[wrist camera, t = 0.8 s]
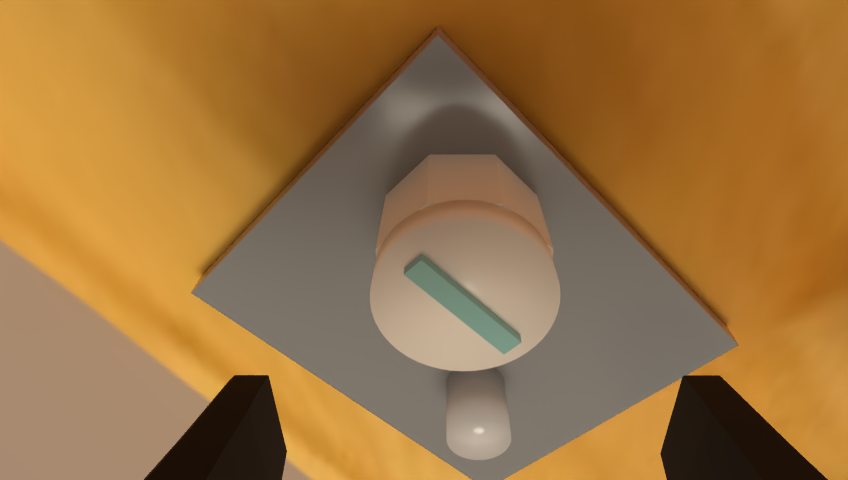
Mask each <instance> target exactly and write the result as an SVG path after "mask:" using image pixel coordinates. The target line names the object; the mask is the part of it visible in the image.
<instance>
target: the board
mask: <svg viewBox="0 0 848 480" xmlns="http://www.w3.org/2000/svg"><path fill="white" fill-rule="evenodd" d="M430 154H495V155H496V156H497V157H498V158H499V159H500V160H501V161H502V162H503V163H504V164H505V165H506V166H507V167H508V168H509V169H511V170H512V171H513V172H514V173H515V174H516V175H517V176H518V177H519V178H520V179H521V180H522V181H523V182H524V183H525V184H526V185H527V186H528V187H529V188H530V189H531V190H532V191H533V192H534V193H535V194H536V195H537V196H538V199H539V203H540V206H541V209H542V213H543V216H544V220H545V223H546V226H547V230H548V233H549V236H550V240H551V243H552V246H553V258H552V259H553V262H554V266H555V269H556V273H557V276H558V280H559V283H560V293H561V295H560V305H559V310H558V314H557V316H556V319H555V321H554V323H553V325H552V327H551V328H550V330H549V332H548V333H547V334H546V335H545V337H544V338H543V339H542V340H541V341H540V342H539V343H538V344H537V345H536V346H535V347H534V348H532V349H531V350H530V351H528V352H527V353H526V354H524V355H522V356H521V357H519V358H517V359H515V360H513V361H511V362H508V363H506V364H503V365H500V366H497V367H493V368H489V369H485V370H477V371H450V370H444V369H438V368H434V367H431V366H427V365H425V364H422V363H419V362H417V361H415V360H413V359H411V358H409V357H407V356H406V355H404V354H403V353H401V352H400V351H398V350H397V349H396V348H395V347H394V346H392V345H391V344H390V343H389V341H388V340H387V339H386V338H385V337H384V336H383V334H382V333H381V331H380V330H379V328H378V326H377V324H376V322H375V321H374V318H373V314H372V311H371V306H370V288H371V282H372V277H373V271H374V266H375V260H376V244H377V239H378V234H379V228H380V223H381V218H382V212H383V207H384V202H385V196H386V195H387V194H388V193H389V192H390V191H391V190H392V189H393V188H394V187H395V186H396V185H397V184H398V183H399V182H401V181H402V180H403V179H404V178H405V177H406V176H407V175H408V174H409V173H410V172H411V171H412V170H413V169H414V168H416V167H417V166H418V165H419V164H420V163H421V162H422V161H423V160H424V159H425V158H426V157H427V156H428V155H430ZM191 293H192V294H194V295H195V296H197V297H198V298H200V299H201V300H203V301H204V302H206V303H207V304H209V305H210V306H212V307H213V308H215V309H216V310H218V311H219V312H221V313H222V314H224V315H225V316H227V317H228V318H230V319H231V320H233V321H234V322H236V323H237V324H239V325H240V326H242V327H243V328H245V329H246V330H248V331H249V332H251V333H252V334H254V335H255V336H257V337H258V338H260V339H261V340H263V341H264V342H266V343H267V344H269V345H270V346H272V347H273V348H275V349H276V350H278V351H279V352H281V353H282V354H284V355H285V356H287V357H289V358H290V359H292V360H293V361H295V362H296V363H298V364H299V365H301V366H302V367H304V368H305V369H307V370H308V371H310V372H311V373H313V374H314V375H316V376H317V377H319V378H320V379H322V380H323V381H325V382H326V383H328V384H329V385H331V386H332V387H334V388H335V389H337V390H338V391H340V392H341V393H343V394H344V395H346V396H347V397H349V398H350V399H352V400H353V401H355V402H356V403H358V404H359V405H361V406H362V407H364V408H365V409H367V410H368V411H370V412H371V413H373V414H374V415H376V416H377V417H379V418H380V419H382V420H383V421H385V422H386V423H388V424H389V425H391V426H392V427H394V428H395V429H397V430H398V431H400V432H401V433H403V434H404V435H406V436H407V437H409V438H410V439H412V440H413V441H415V442H416V443H418V444H419V445H421V446H422V447H424V448H425V449H427V450H428V451H430V452H431V453H433V454H435V455H436V456H438V457H439V458H441V459H442V460H444V461H445V462H447V463H448V464H450V465H451V466H453V467H454V468H456V469H457V470H459V471H460V472H462V473H463V474H465V475H466V476H468V477H469V478H471V479H472V480H503V479H505V478H507V477H509V476H510V475H512V474H514V473H516V472H517V471H519V470H521V469H523V468H525V467H526V466H528V465H530V464H532V463H533V462H535V461H537V460H539V459H540V458H542V457H544V456H546V455H547V454H549V453H551V452H553V451H554V450H556V449H558V448H560V447H561V446H563V445H565V444H567V443H568V442H570V441H572V440H574V439H575V438H577V437H579V436H581V435H582V434H584V433H586V432H588V431H589V430H591V429H593V428H595V427H596V426H598V425H600V424H602V423H603V422H605V421H607V420H609V419H610V418H612V417H614V416H616V415H617V414H619V413H621V412H623V411H624V410H626V409H628V408H630V407H631V406H633V405H635V404H637V403H638V402H640V401H642V400H644V399H645V398H647V397H649V396H651V395H652V394H654V393H656V392H658V391H659V390H661V389H663V388H665V387H666V386H668V385H670V384H672V383H673V382H675V381H677V380H679V379H680V378H682V377H683V376H686V375H687V374H689V373H691V372H693V371H694V370H696V369H698V368H700V367H701V366H703V365H705V364H707V363H708V362H710V361H712V360H714V359H715V358H717V357H719V356H721V355H722V354H724V353H726V352H728V351H729V350H731V349H733V348H735V347H736V346H738V343H737V342H736V340H735V338H734V337H733V335H732V334H731V332H730V331H729V329H728V328H727V326H726V325H725V324H724V323H723V322H722V321H721V320H720V319H719V318H718V317H717V316H716V315H715V314H714V313H713V312H712V311H711V310H710V308H709V307H708V306H707V305H706V304H705V303H704V302H703V301H702V300H701V299H700V298H699V297H698V296H697V295H696V294H695V293H694V292H693V291H692V290H691V289H690V288H689V287H688V286H687V285H686V284H685V282H684V281H683V280H682V279H681V278H680V277H679V276H678V275H677V274H676V273H675V272H674V271H673V270H672V269H671V268H670V267H669V266H668V265H667V264H666V263H665V262H664V261H663V260H662V259H661V258H660V257H659V255H658V254H657V253H656V252H655V251H654V250H653V249H652V248H651V247H650V246H649V245H648V244H647V243H646V242H645V241H644V240H643V239H642V238H641V237H640V236H639V235H638V234H637V233H636V232H635V231H634V230H633V228H632V227H631V226H630V225H629V224H628V223H627V222H626V221H625V220H624V219H623V218H622V217H621V216H620V215H619V214H618V213H617V212H616V211H615V210H614V209H613V208H612V207H611V206H610V205H609V204H608V202H607V201H606V200H605V199H604V198H603V197H602V196H601V195H600V194H599V193H598V192H597V191H596V190H595V189H594V188H593V187H592V186H591V185H590V184H589V183H588V182H587V181H586V180H585V179H584V178H583V177H582V175H581V174H580V173H579V172H578V171H577V170H576V169H575V168H574V167H573V166H572V165H571V164H570V163H569V162H568V161H567V160H566V159H565V158H564V157H563V156H562V155H561V154H560V153H559V152H558V151H557V149H556V148H555V147H554V146H553V145H552V144H551V143H550V142H549V141H548V140H547V139H546V138H545V137H544V136H543V135H542V134H541V133H540V132H539V131H538V130H537V129H536V128H535V127H534V126H533V125H532V124H531V122H530V121H529V120H528V119H527V118H526V117H525V116H524V115H523V114H522V113H521V112H520V111H519V110H518V109H517V108H516V107H515V106H514V105H513V104H512V103H511V102H510V101H509V100H508V99H507V98H506V97H505V95H504V94H503V93H502V92H501V91H500V90H499V89H498V88H497V87H496V86H495V85H494V84H493V83H492V82H491V81H490V80H489V79H488V78H487V77H486V76H485V75H484V74H483V73H482V72H481V71H480V69H479V68H478V67H477V66H476V65H475V64H474V63H473V62H472V61H471V60H470V59H469V58H468V57H467V56H466V55H465V54H464V53H463V52H462V51H461V50H460V49H459V48H458V47H457V46H456V45H455V44H454V42H453V41H452V40H451V39H450V38H449V37H448V36H447V35H446V34H445V33H444V32H443V31H442V30H441V29H440V28H439V27H437V28H436V30H435V31H434V32H433V33H432V34H431V35H430V36H429V37H428V38H427V39H426V40H425V41H424V42H423V43H422V44H421V45H420V46H419V47H418V48H417V50H416V51H415V52H414V53H413V54H412V55H411V56H410V57H409V58H408V59H407V60H406V61H405V62H404V63H403V64H402V65H401V66H400V67H399V68H398V70H397V71H396V72H395V73H394V74H393V75H392V76H391V77H390V78H389V79H388V80H387V81H386V82H385V83H384V84H383V85H382V86H381V87H380V89H379V90H378V91H377V92H376V93H375V94H374V95H373V96H372V97H371V98H370V99H369V100H368V101H367V102H366V103H365V104H364V105H363V106H362V107H361V109H360V110H359V111H358V112H357V113H356V114H355V115H354V116H353V117H352V118H351V119H350V120H349V121H348V122H347V123H346V124H345V125H344V126H343V127H342V129H341V130H340V131H339V132H338V133H337V134H336V135H335V136H334V137H333V138H332V139H331V140H330V141H329V142H328V143H327V144H326V145H325V146H324V147H323V149H322V150H321V151H320V152H319V153H318V154H317V155H316V156H315V157H314V158H313V159H312V160H311V161H310V162H309V163H308V164H307V165H306V166H305V168H304V169H303V170H302V171H301V172H300V173H299V174H298V175H297V176H296V177H295V178H294V179H293V180H292V181H291V182H290V183H289V184H288V185H287V186H286V188H285V189H284V190H283V191H282V192H281V193H280V194H279V195H278V196H277V197H276V198H275V199H274V200H273V201H272V202H271V203H270V204H269V205H268V206H267V208H266V209H265V210H264V211H263V212H262V213H261V214H260V215H259V216H258V217H257V218H256V219H255V220H254V221H253V222H252V223H251V224H250V225H249V226H248V228H247V229H246V230H245V231H244V232H243V233H242V234H241V235H240V236H239V237H238V238H237V239H236V240H235V241H234V242H233V243H232V244H231V245H230V247H229V248H228V249H227V250H226V251H225V252H224V253H223V254H222V255H221V256H220V257H219V258H218V259H217V260H216V261H215V262H214V263H213V264H212V265H211V267H210V268H209V269H208V270H207V271H206V272H205V273H204V274H203V275H202V276H201V278H200V279H199V281H198V283H197V284H196V286H195V287H194V289H193V291H192V292H191Z"/></svg>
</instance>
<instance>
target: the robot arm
mask: <svg viewBox="0 0 848 480" xmlns="http://www.w3.org/2000/svg"><path fill="white" fill-rule="evenodd" d="M286 453H287V450H286V446H285V442H284V438H283V434H282V429H281V425H280V421H279V417H278V413H277V409H276V405H275V401H274V396H273V392H272V388H271V384H270V380H269V376H268V375H235V376H234V377H232V378H231V379H230V380H229V381H228V383H227V384H226V385H225V386H224V387H223V389H222V390H221V391H220V392H219V393H218V395H217V396H216V397H215V398H214V399H213V400H212V402H211V403H210V404H209V406H207V408H206V409H205V410H204V411H203V412H202V414H201V415H200V416H199V417H198V418H197V420H196V421H195V422H194V423H193V424H192V425H191V427H190V428H189V429H188V430H187V431H186V432H185V434H184V435H183V436H182V437H181V438H180V439H179V441H178V442H177V443H176V444H175V445H174V446H173V447H172V449H171V450H170V451H169V452H168V453H167V454H166V455H165V456H164V457H163V459H162V460H161V461H160V462H159V463H158V464H157V465H156V467H155V468H154V469H153V470H152V471H151V472H150V473H149V474H148V475H147V477H146V478H145V479H144V480H282V475H283V470H284V464H285V459H286ZM661 458H662V462H663V466H664V470H665V474H666V478H667V480H828V479H827V478H825V477H824V476H823V475H822V474H821V473H820V472H819V471H818V470H817V469H816V468H815V467H814V466H813V465H811V464H810V463H809V462H808V461H807V460H806V459H805V458H804V457H803V456H802V455H801V454H800V453H799V452H798V451H797V450H796V449H795V448H794V447H793V446H791V445H790V444H789V443H788V442H787V441H786V440H785V439H784V438H783V437H782V436H781V435H780V434H779V433H778V432H777V431H776V430H775V429H774V428H773V427H772V426H771V425H770V424H769V423H768V422H767V421H766V420H765V419H764V418H763V417H762V416H761V415H760V414H759V413H758V412H756V411H755V410H754V409H753V408H752V407H751V406H750V405H749V404H748V403H747V402H746V401H745V400H744V399H743V398H742V397H741V396H740V395H739V394H738V393H737V392H736V391H735V390H734V389H733V388H732V387H731V386H730V385H729V384H728V383H727V382H726V381H725V380H724V379H723V378H722V377H720V376H683V377H682V381H681V384H680V388H679V391H678V395H677V398H676V402H675V405H674V409H673V412H672V416H671V419H670V422H669V426H668V429H667V433H666V436H665V440H664V443H663V447H662V450H661Z"/></svg>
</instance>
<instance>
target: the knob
mask: <svg viewBox="0 0 848 480" xmlns="http://www.w3.org/2000/svg"><path fill="white" fill-rule="evenodd" d="M552 258H553V246H552V243H551V240H550V236H549V233H548V230H547V226H546V223H545V220H544V216H543V213H542V209H541V206H540V203H539V199H538V196H537V195H536V194H535V193H534V192H533V191H532V190H531V189H530V188H529V187H528V186H527V185H526V184H525V183H524V182H523V181H522V180H521V179H520V178H519V177H518V176H517V175H516V174H515V173H514V172H513V171H512V170H511V169H509V168H508V167H507V166H506V165H505V164H504V163H503V162H502V161H501V160H500V159H499V158H498V157H497V156H496V155H495V154H430V155H428V156H427V157H426V158H425V159H424V160H423V161H422V162H421V163H420V164H419V165H418V166H417V167H416V168H414V169H413V170H412V171H411V172H410V173H409V174H408V175H407V176H406V177H405V178H404V179H403V180H402V181H401V182H399V183H398V184H397V185H396V186H395V187H394V188H393V189H392V190H391V191H390V192H389V193H388V194H387V195H386V196H385V202H384V207H383V212H382V218H381V223H380V228H379V234H378V239H377V244H376V260H375V266H374V271H373V277H372V282H371V288H370V306H371V311H372V314H373V318H374V321H375V322H376V324H377V326H378V328H379V330H380V331H381V333H382V334H383V336H384V337H385V338H386V339H387V340H388V341H389V343H390V344H391V345H392V346H394V347H395V348H396V349H397V350H398V351H400V352H401V353H403V354H404V355H406V356H407V357H409V358H411V359H413V360H415V361H417V362H419V363H422V364H425V365H427V366H431V367H434V368H438V369H444V370H450V371H477V370H485V369H489V368H493V367H497V366H500V365H503V364H506V363H508V362H511V361H513V360H515V359H517V358H519V357H521V356H522V355H524V354H526V353H527V352H528V351H530V350H531V349H532V348H534V347H535V346H536V345H537V344H538V343H539V342H540V341H541V340H542V339H543V338H544V337H545V335H546V334H547V333H548V332H549V330H550V328H551V327H552V325H553V323H554V321H555V319H556V316H557V314H558V310H559V305H560V295H561V293H560V283H559V280H558V276H557V273H556V269H555V266H554V262H553V259H552Z"/></svg>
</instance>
